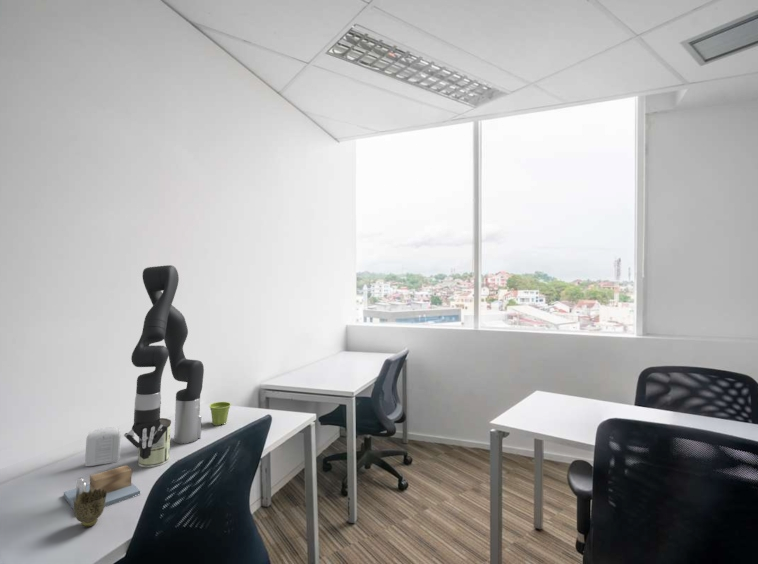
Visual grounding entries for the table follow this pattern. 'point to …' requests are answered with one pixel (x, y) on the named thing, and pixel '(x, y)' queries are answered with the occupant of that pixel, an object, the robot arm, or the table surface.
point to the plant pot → (219, 412)
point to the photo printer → (102, 446)
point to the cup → (89, 506)
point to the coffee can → (158, 449)
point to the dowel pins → (80, 486)
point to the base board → (110, 497)
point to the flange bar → (111, 479)
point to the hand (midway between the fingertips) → (144, 458)
